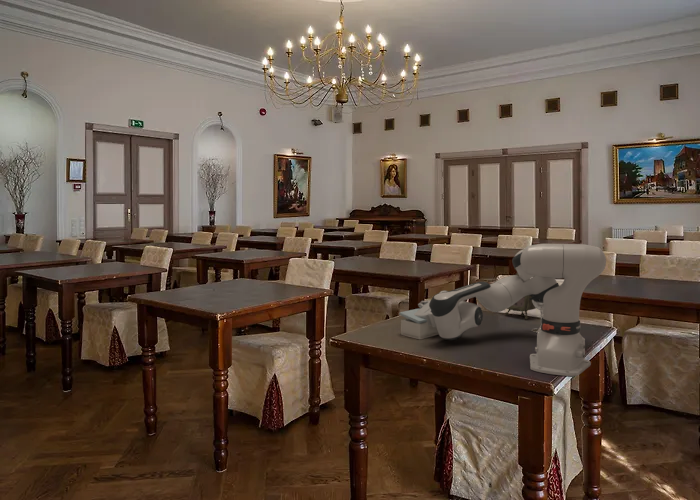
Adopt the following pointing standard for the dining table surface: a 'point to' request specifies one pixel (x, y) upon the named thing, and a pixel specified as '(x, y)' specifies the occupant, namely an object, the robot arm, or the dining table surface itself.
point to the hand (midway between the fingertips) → (420, 304)
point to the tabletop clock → (522, 305)
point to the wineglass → (540, 307)
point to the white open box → (417, 329)
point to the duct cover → (413, 316)
